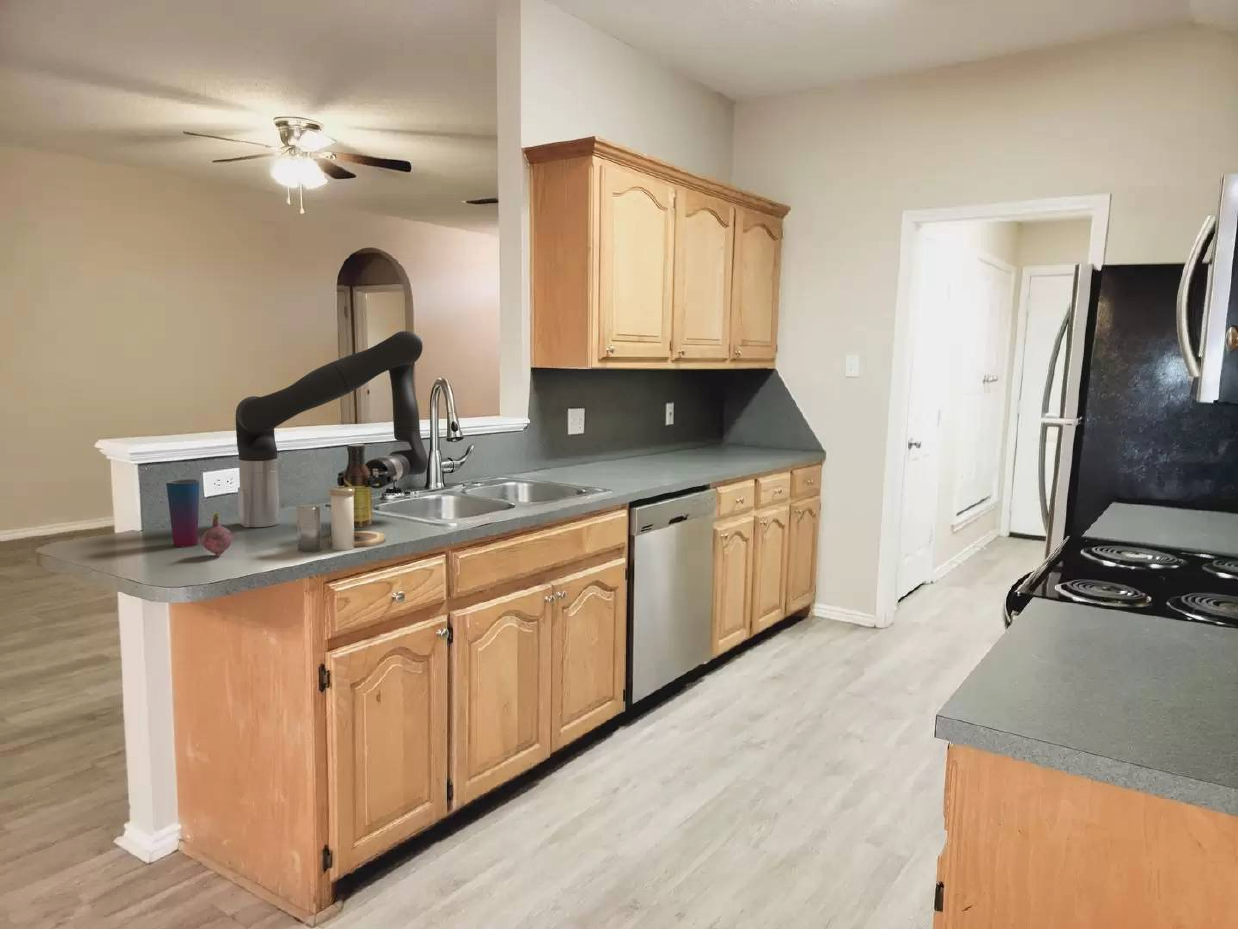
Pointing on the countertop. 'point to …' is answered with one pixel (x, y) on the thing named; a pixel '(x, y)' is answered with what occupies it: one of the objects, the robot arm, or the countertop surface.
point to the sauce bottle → (359, 484)
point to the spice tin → (308, 528)
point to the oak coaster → (366, 538)
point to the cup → (184, 510)
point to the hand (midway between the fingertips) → (353, 482)
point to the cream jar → (342, 518)
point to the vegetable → (217, 538)
